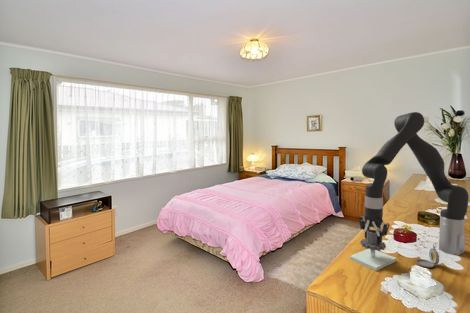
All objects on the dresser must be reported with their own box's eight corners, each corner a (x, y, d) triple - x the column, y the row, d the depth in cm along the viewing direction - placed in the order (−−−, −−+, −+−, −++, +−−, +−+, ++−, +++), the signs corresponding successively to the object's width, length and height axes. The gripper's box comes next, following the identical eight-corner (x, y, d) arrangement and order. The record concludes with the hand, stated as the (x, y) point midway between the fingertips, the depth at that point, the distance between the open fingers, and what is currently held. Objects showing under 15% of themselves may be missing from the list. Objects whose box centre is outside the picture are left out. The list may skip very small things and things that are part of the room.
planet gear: (390, 247, 120) (390, 232, 119) (377, 252, 115) (377, 237, 114) (369, 239, 129) (369, 226, 128) (356, 244, 124) (356, 230, 123)
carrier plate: (396, 261, 121) (396, 248, 120) (375, 271, 113) (376, 257, 112) (370, 250, 132) (370, 239, 131) (349, 258, 124) (349, 247, 124)
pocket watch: (412, 262, 119) (413, 242, 118) (424, 259, 122) (425, 238, 121) (431, 271, 111) (432, 249, 110) (443, 267, 114) (444, 245, 113)
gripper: (394, 208, 116) (393, 244, 117) (364, 201, 128) (363, 234, 130) (384, 211, 112) (383, 248, 114) (354, 203, 124) (354, 237, 126)
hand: (373, 240), depth 122 cm, fingers closed on planet gear, 5 cm apart
